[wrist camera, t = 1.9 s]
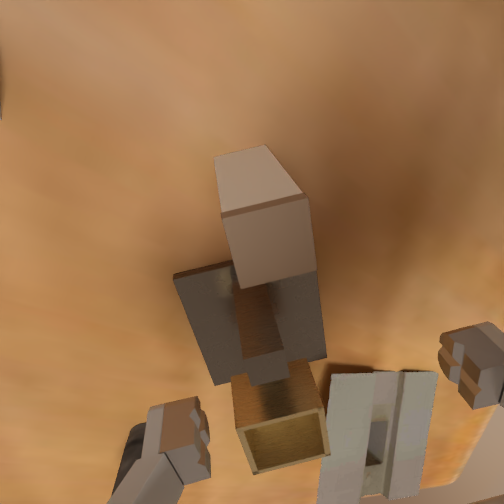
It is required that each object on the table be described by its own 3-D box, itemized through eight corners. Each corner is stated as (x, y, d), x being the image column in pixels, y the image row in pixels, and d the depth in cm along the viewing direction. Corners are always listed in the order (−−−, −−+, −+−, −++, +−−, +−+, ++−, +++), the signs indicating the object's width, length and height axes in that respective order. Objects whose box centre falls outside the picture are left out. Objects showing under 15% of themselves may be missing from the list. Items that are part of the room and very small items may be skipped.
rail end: (265, 143, 29) (308, 197, 18) (274, 194, 31) (317, 270, 20) (212, 156, 29) (221, 218, 17) (225, 206, 31) (240, 289, 20)
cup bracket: (310, 240, 34) (365, 329, 23) (324, 351, 42) (370, 457, 31) (173, 274, 34) (161, 381, 23) (214, 379, 42) (220, 496, 31)
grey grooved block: (287, 362, 49) (284, 496, 45) (330, 372, 40) (330, 539, 36) (384, 363, 56) (388, 477, 53) (439, 371, 47) (448, 509, 44)
